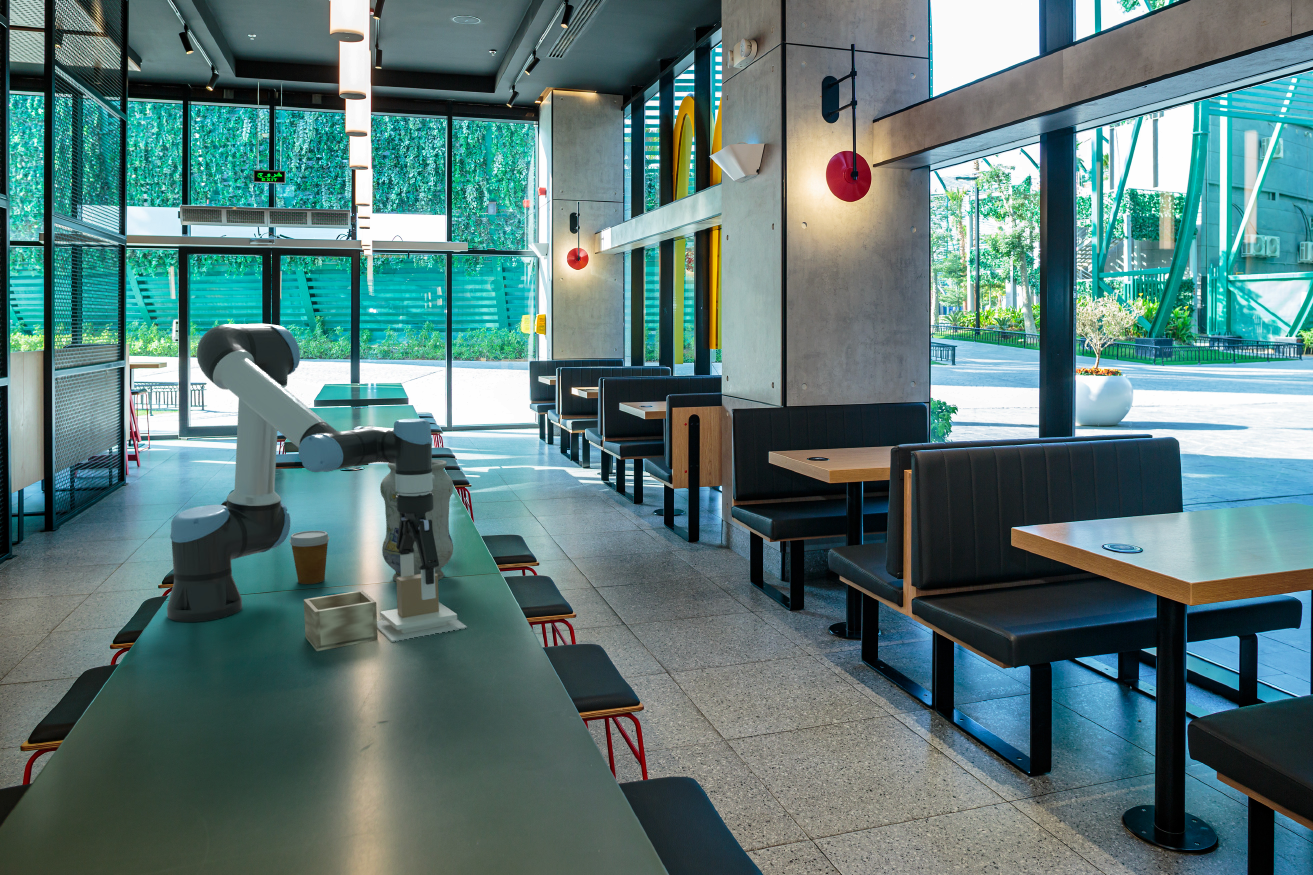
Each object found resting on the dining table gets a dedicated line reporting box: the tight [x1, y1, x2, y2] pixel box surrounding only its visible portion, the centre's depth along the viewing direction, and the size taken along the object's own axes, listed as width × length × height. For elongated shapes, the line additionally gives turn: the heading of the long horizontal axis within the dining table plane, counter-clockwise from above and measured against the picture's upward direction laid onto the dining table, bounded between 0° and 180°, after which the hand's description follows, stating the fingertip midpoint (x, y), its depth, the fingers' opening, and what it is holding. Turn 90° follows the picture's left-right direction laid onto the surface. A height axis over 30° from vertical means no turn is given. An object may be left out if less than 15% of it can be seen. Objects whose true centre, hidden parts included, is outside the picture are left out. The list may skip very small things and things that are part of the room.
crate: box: [303, 589, 379, 652], centre depth 188 cm, size 12×10×8 cm
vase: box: [379, 459, 454, 583], centre depth 234 cm, size 18×18×30 cm
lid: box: [379, 574, 458, 633], centre depth 196 cm, size 13×11×10 cm
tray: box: [377, 618, 468, 643], centre depth 197 cm, size 16×14×1 cm
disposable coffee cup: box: [288, 530, 331, 585], centre depth 232 cm, size 10×10×12 cm
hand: (417, 590), depth 196 cm, fingers open, 13 cm apart
